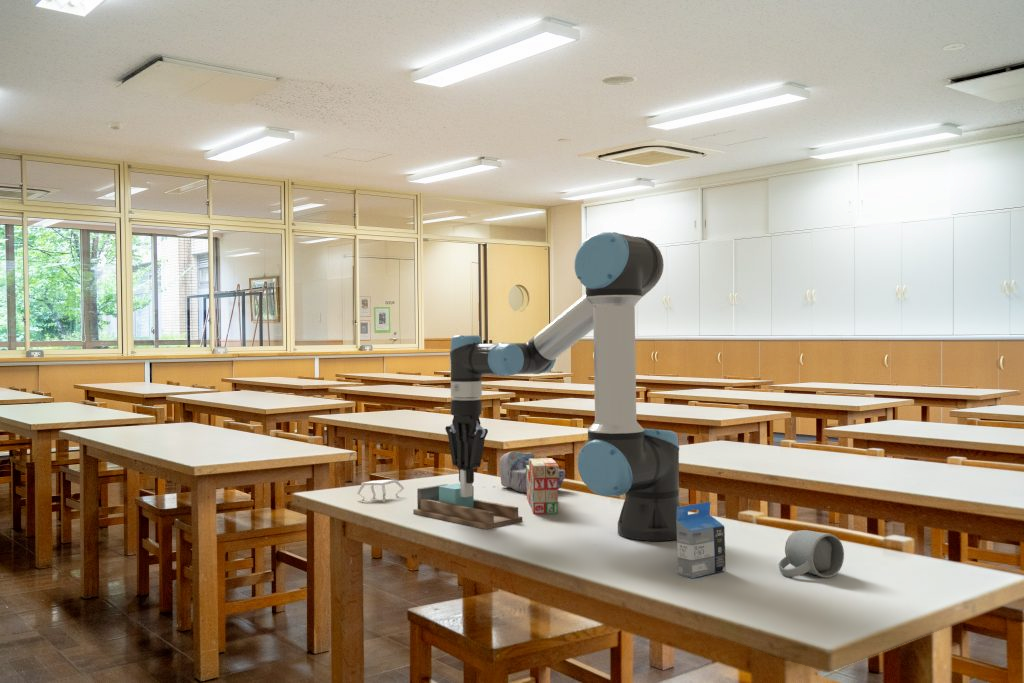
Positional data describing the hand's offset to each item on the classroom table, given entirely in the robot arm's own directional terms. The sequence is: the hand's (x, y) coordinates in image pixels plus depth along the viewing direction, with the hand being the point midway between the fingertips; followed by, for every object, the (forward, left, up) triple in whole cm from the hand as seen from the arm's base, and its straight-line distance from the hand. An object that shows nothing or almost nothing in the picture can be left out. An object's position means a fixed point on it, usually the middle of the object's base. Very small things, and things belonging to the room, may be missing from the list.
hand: (466, 496), depth 205 cm
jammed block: (+4, 0, -4) cm, 6 cm away
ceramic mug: (-82, -9, -5) cm, 83 cm away
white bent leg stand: (+35, -1, -5) cm, 35 cm away
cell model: (+15, -39, -6) cm, 42 cm away
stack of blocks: (-3, -23, -6) cm, 24 cm away
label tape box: (-68, +4, -5) cm, 68 cm away
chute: (0, 0, -5) cm, 5 cm away
